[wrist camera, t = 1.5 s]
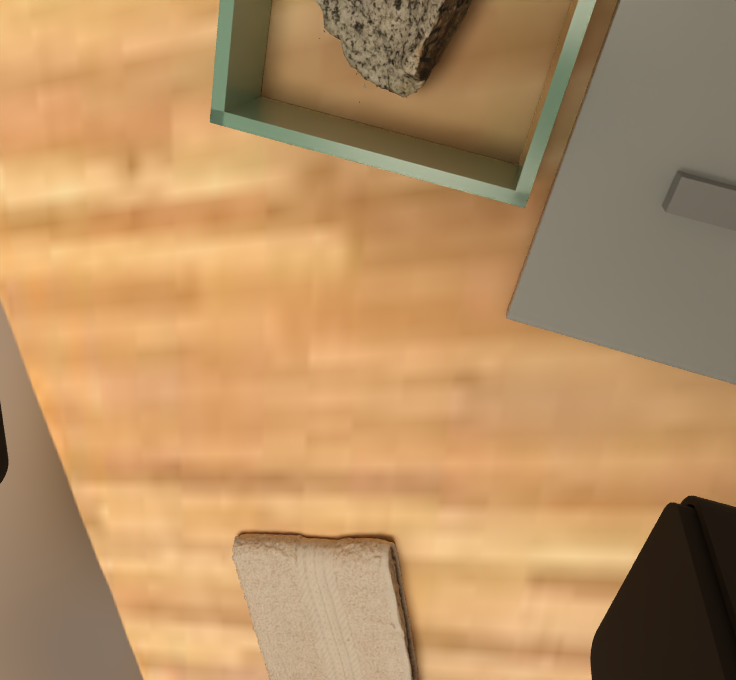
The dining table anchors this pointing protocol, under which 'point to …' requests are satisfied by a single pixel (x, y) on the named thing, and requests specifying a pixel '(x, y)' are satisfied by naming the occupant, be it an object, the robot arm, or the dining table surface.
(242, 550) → the washcloth
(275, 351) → the dining table surface
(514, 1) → the dining table surface
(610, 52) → the slate tray
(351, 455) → the dining table surface
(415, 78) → the rock sample
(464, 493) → the dining table surface
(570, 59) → the green open box
